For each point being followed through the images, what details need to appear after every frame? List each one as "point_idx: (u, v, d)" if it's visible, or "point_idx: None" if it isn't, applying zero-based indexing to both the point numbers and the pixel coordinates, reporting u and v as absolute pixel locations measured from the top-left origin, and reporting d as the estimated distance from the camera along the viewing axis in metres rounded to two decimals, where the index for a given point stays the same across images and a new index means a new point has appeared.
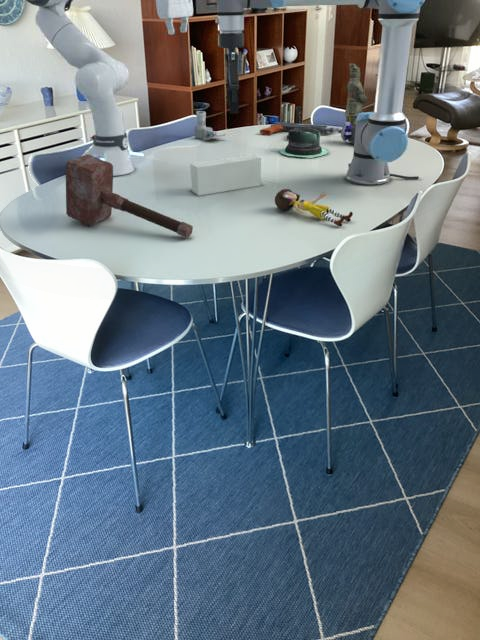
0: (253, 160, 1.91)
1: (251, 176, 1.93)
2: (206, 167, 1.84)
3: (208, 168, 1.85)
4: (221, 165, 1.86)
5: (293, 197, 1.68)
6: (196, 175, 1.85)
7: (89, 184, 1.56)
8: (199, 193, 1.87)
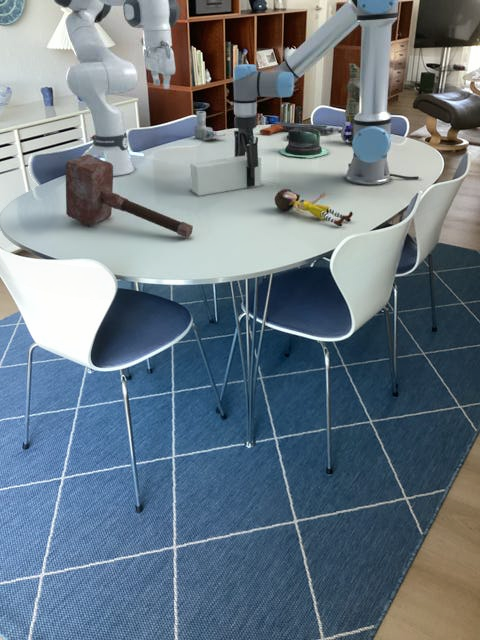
0: None
1: None
2: (206, 167, 1.84)
3: (208, 168, 1.85)
4: (221, 165, 1.86)
5: (293, 197, 1.68)
6: (196, 175, 1.85)
7: (89, 184, 1.56)
8: (199, 193, 1.87)
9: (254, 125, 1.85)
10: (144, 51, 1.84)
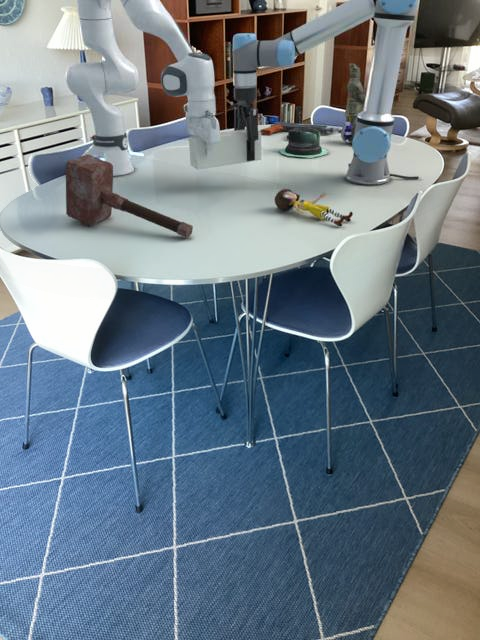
0: None
1: None
2: None
3: None
4: (220, 138, 1.82)
5: (293, 197, 1.68)
6: (195, 148, 1.80)
7: (89, 184, 1.56)
8: (198, 167, 1.83)
9: (254, 97, 1.80)
10: (187, 117, 1.85)
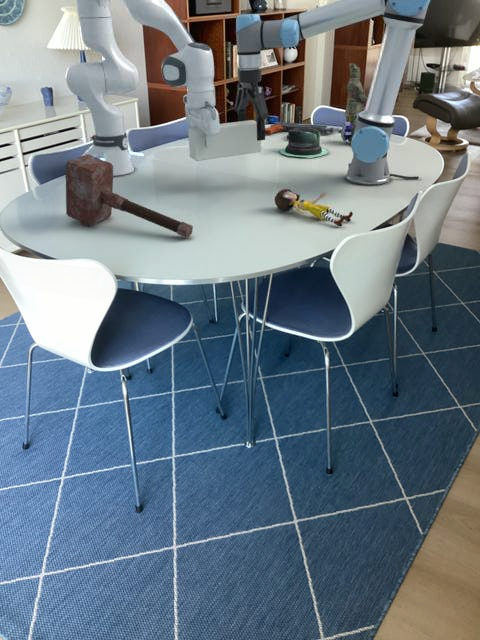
0: (253, 125, 1.85)
1: (251, 142, 1.87)
2: None
3: None
4: (220, 129, 1.81)
5: (293, 197, 1.68)
6: (194, 139, 1.79)
7: (89, 184, 1.56)
8: (197, 158, 1.82)
9: (259, 78, 1.78)
10: (186, 108, 1.84)
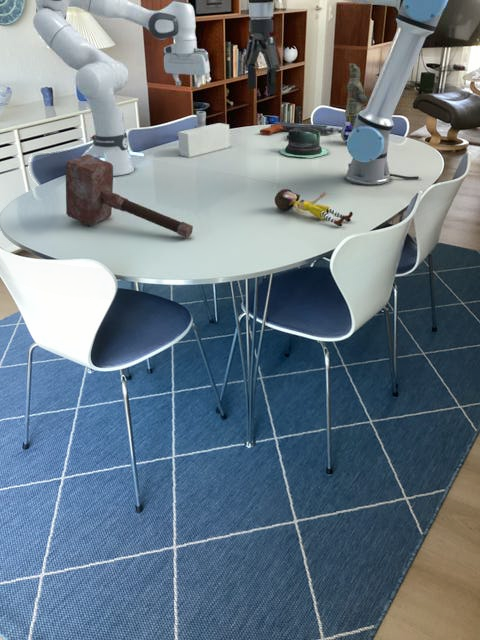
0: (224, 126, 2.40)
1: (223, 139, 2.43)
2: (193, 133, 2.30)
3: (194, 134, 2.30)
4: (203, 131, 2.33)
5: (293, 197, 1.68)
6: (187, 140, 2.29)
7: (89, 184, 1.56)
8: (189, 155, 2.32)
9: (270, 29, 1.73)
10: (166, 58, 2.20)
